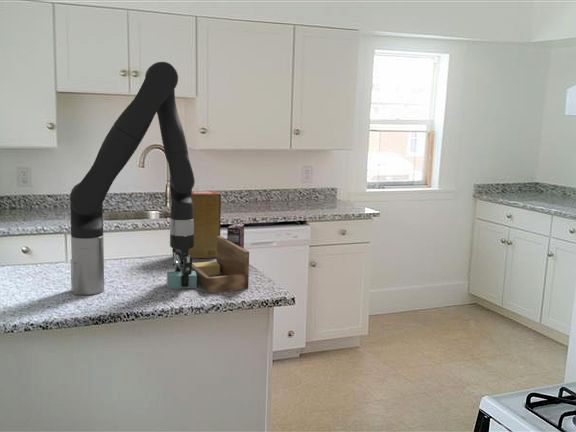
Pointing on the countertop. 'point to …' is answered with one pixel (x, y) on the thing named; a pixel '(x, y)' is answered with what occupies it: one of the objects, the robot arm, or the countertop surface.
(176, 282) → the book block
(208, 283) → the book rack
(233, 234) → the supplement box
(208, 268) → the ochre book block
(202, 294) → the countertop surface
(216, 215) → the food packaging
